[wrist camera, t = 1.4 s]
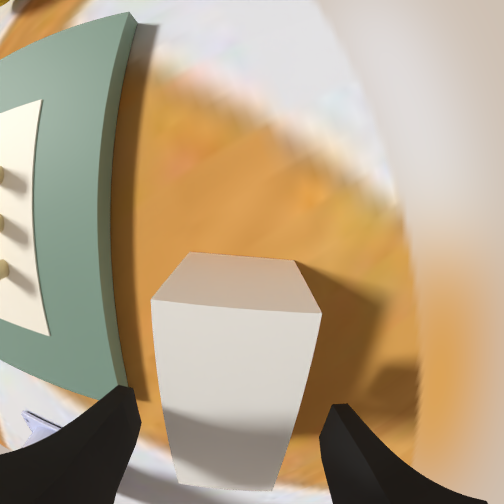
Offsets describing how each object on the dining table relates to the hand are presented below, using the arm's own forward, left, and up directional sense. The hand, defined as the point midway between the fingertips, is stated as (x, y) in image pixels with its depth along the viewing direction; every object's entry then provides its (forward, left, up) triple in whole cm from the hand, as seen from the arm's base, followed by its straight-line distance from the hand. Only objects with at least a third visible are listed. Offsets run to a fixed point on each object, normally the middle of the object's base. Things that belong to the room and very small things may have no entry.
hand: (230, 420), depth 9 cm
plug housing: (-2, 0, -4) cm, 5 cm away
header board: (+6, +13, -4) cm, 15 cm away
